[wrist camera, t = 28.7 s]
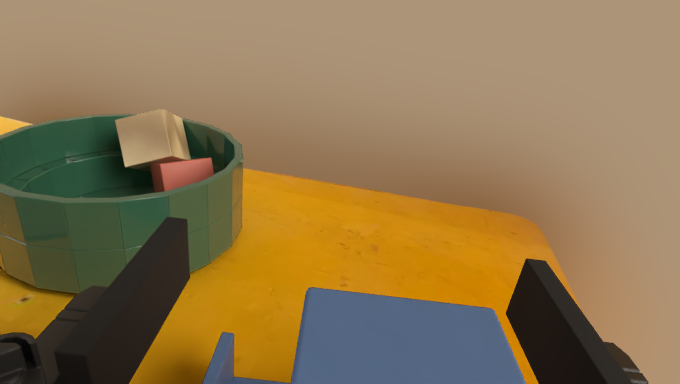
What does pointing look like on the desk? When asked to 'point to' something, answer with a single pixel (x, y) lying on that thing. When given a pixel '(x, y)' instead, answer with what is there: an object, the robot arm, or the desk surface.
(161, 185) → the brick block
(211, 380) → the scoop
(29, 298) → the desk surface
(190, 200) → the green pet bowl
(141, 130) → the maple block
